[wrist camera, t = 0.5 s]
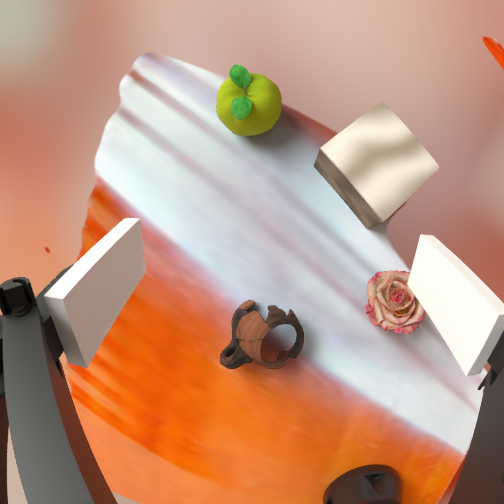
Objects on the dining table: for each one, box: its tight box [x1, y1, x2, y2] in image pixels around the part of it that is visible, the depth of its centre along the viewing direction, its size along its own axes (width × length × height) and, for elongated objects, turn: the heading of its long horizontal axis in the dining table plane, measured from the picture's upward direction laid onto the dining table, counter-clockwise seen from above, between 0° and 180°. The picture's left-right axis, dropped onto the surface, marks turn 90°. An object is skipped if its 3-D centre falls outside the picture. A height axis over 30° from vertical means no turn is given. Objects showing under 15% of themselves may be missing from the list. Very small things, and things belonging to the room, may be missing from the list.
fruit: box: [216, 65, 282, 136], centre depth 40 cm, size 9×9×10 cm
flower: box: [365, 270, 426, 335], centre depth 40 cm, size 10×9×8 cm
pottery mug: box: [220, 300, 304, 369], centre depth 42 cm, size 12×10×8 cm
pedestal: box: [314, 101, 440, 228], centre depth 40 cm, size 12×12×8 cm
